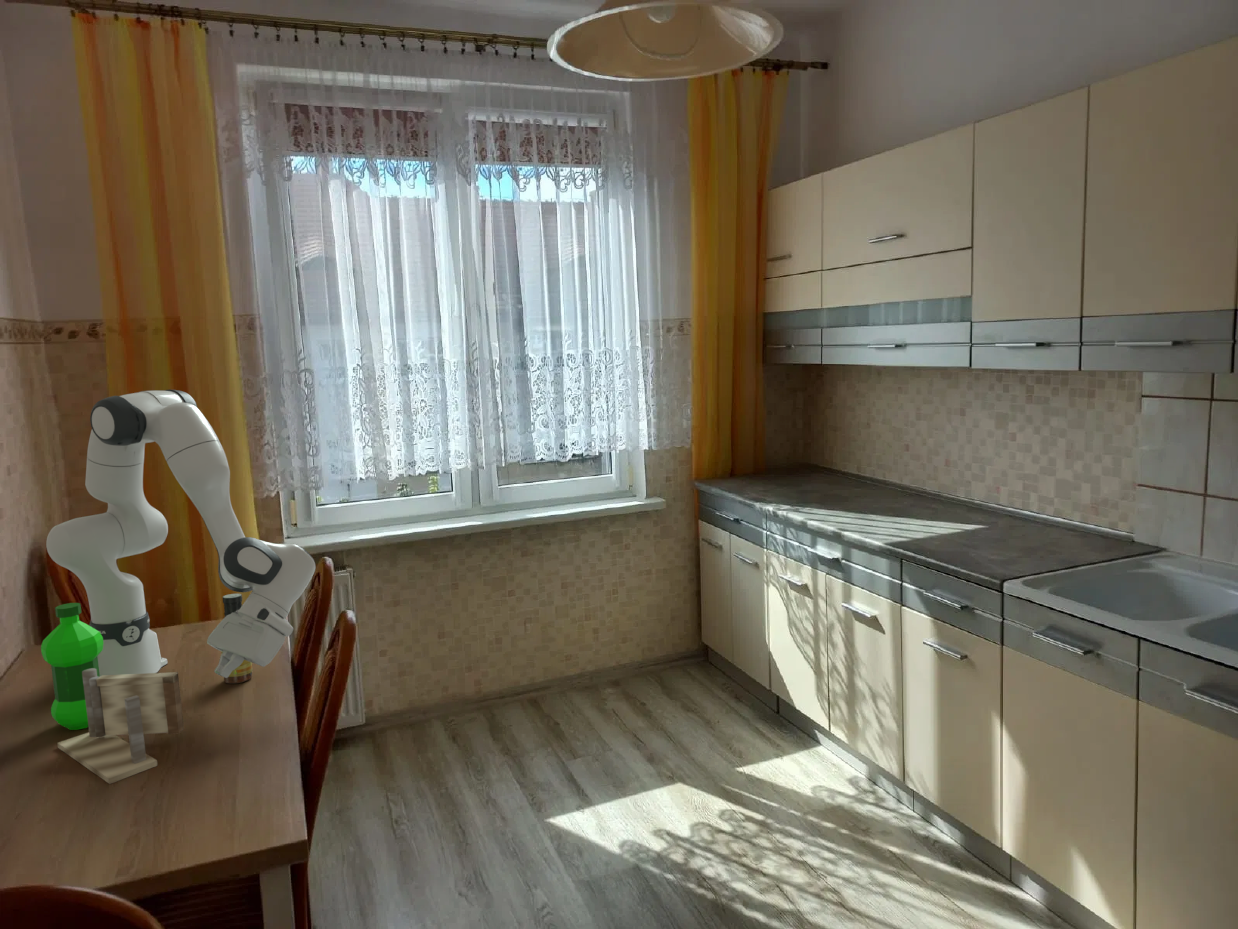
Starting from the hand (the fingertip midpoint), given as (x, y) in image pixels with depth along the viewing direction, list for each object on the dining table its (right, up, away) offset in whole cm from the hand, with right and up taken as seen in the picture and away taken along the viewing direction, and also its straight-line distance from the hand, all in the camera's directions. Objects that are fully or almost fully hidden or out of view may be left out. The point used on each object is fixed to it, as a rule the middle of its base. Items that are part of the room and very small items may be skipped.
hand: (220, 675), depth 170 cm
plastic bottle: (-29, -10, +1) cm, 31 cm away
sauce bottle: (-6, -7, +23) cm, 25 cm away
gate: (-12, -9, -8) cm, 17 cm away
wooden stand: (-15, -12, -14) cm, 23 cm away
